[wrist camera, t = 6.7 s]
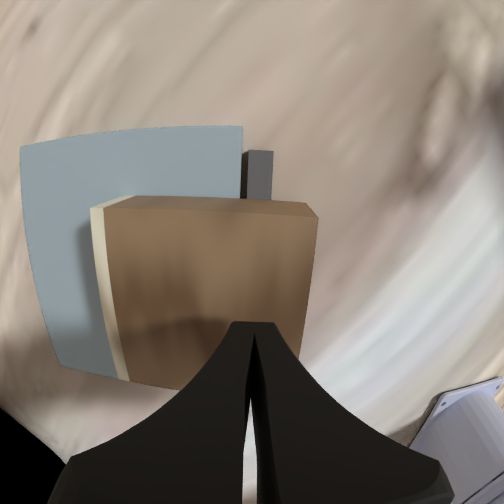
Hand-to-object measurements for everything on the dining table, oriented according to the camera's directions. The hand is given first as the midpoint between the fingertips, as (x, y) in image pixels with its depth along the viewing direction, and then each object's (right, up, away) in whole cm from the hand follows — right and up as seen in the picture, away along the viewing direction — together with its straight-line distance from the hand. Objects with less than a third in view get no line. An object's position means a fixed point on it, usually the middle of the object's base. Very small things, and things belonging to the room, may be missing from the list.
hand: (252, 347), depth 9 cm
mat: (-7, +2, +5) cm, 8 cm away
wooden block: (+2, +1, +3) cm, 4 cm away
